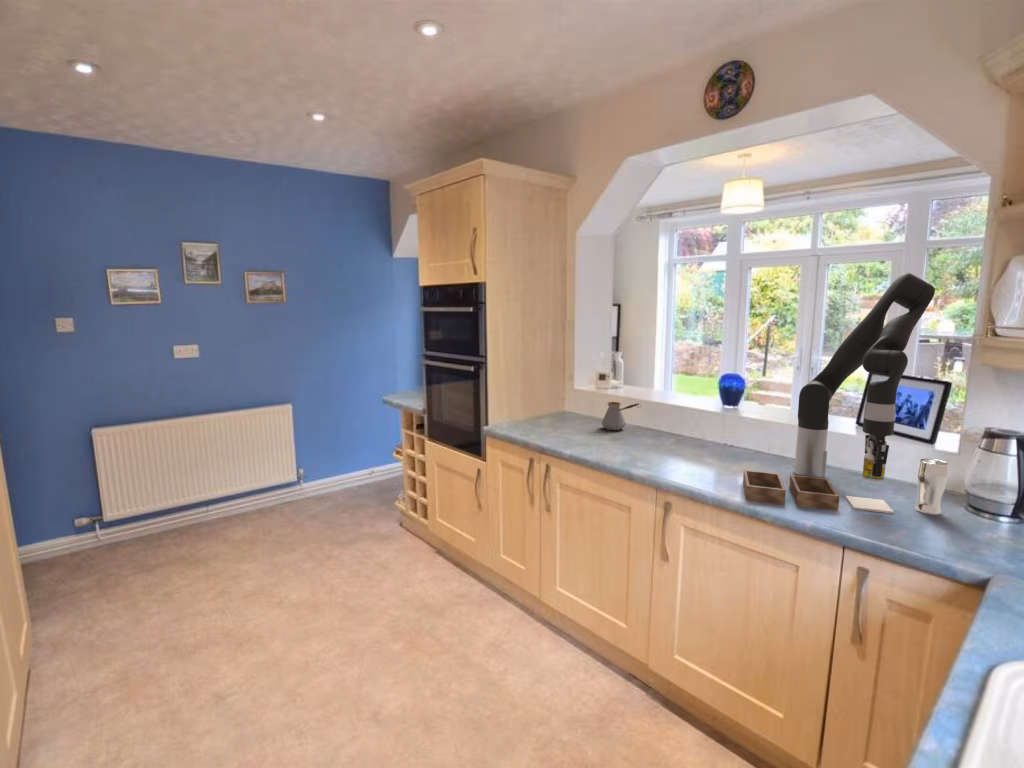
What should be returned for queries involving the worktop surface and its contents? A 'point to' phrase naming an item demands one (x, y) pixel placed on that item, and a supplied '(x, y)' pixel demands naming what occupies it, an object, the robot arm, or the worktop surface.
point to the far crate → (764, 493)
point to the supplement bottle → (869, 466)
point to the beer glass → (931, 485)
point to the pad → (869, 504)
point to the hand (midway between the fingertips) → (873, 472)
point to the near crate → (810, 498)
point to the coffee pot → (615, 416)
